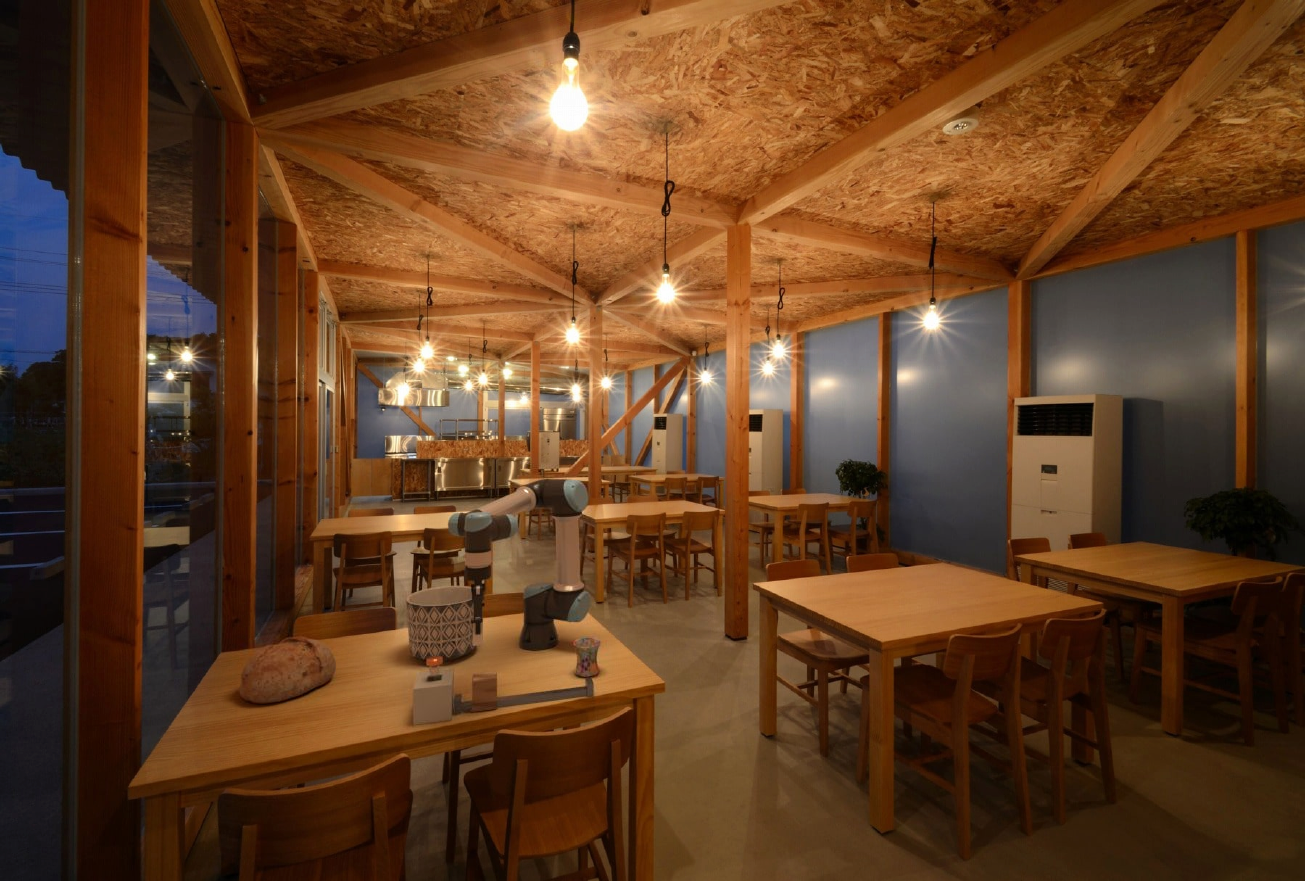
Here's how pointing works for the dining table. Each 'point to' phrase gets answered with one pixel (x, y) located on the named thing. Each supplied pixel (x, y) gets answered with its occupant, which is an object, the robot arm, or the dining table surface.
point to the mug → (586, 656)
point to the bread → (286, 670)
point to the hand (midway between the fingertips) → (477, 636)
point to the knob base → (433, 697)
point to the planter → (440, 622)
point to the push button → (434, 666)
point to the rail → (530, 697)
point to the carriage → (484, 691)
